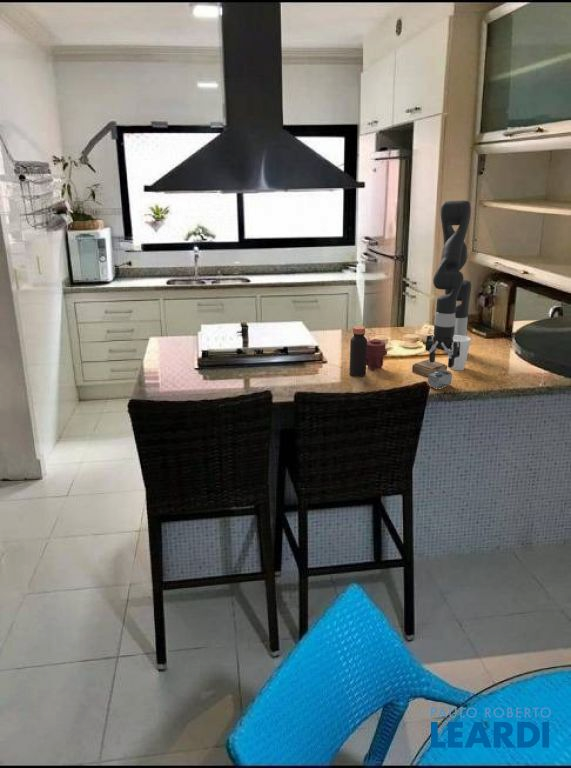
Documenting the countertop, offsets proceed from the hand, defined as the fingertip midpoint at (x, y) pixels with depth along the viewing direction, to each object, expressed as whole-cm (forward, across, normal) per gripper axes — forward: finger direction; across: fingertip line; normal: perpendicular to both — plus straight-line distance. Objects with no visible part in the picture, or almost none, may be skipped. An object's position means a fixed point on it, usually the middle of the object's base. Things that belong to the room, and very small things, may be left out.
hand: (441, 364), depth 231 cm
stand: (+8, +13, -10) cm, 19 cm away
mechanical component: (+9, +31, +4) cm, 33 cm away
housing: (+9, 0, 0) cm, 9 cm away
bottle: (+9, +30, +15) cm, 35 cm away
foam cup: (+9, +9, -23) cm, 26 cm away
